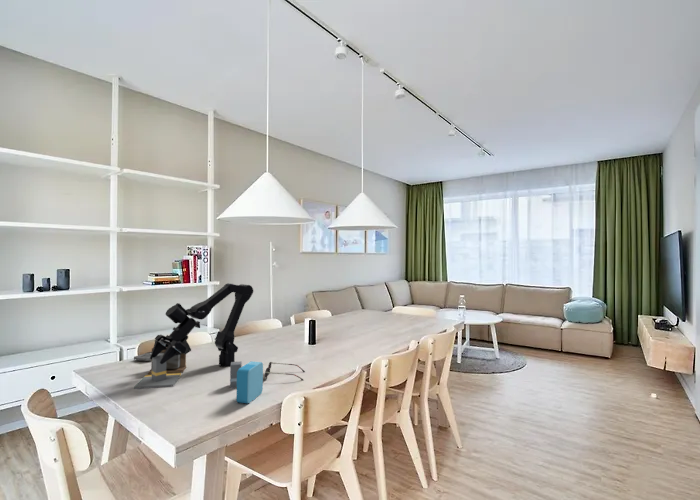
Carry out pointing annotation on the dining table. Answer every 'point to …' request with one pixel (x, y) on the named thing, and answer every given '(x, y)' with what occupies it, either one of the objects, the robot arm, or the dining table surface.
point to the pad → (149, 383)
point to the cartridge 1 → (158, 369)
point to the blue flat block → (249, 382)
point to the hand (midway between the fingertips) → (155, 361)
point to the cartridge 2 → (234, 373)
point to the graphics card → (144, 357)
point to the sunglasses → (279, 373)
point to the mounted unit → (173, 363)
